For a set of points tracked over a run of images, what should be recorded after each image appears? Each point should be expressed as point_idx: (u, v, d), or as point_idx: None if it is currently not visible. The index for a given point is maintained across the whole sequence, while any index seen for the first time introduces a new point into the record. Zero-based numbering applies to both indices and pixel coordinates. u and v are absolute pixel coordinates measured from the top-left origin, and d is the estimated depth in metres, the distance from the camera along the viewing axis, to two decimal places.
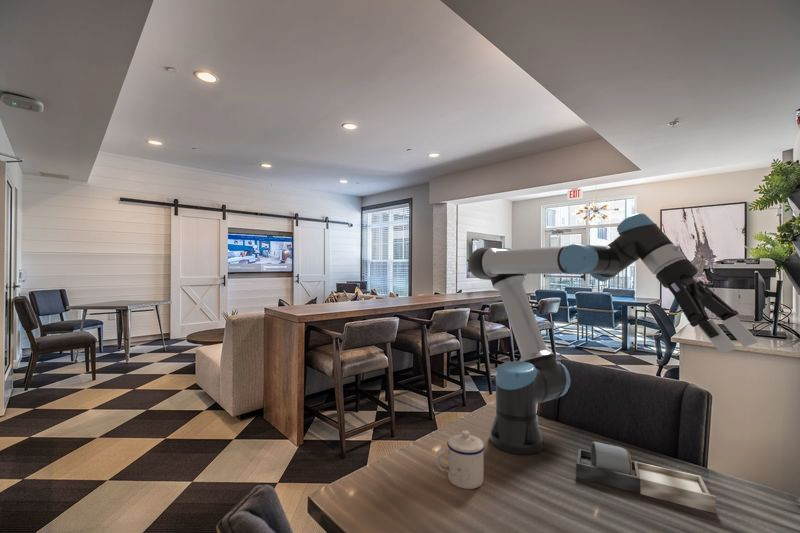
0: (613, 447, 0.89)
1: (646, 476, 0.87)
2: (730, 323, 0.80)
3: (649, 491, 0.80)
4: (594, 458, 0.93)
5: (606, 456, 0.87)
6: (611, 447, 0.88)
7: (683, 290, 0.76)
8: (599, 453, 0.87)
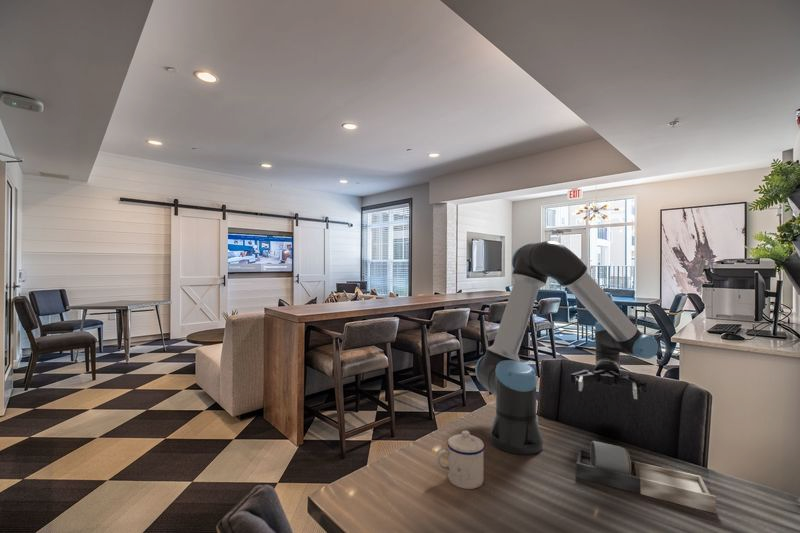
0: (612, 446, 0.89)
1: (646, 476, 0.87)
2: (582, 381, 1.07)
3: (649, 491, 0.80)
4: (594, 457, 0.93)
5: (605, 455, 0.87)
6: (610, 446, 0.89)
7: None
8: (598, 452, 0.88)
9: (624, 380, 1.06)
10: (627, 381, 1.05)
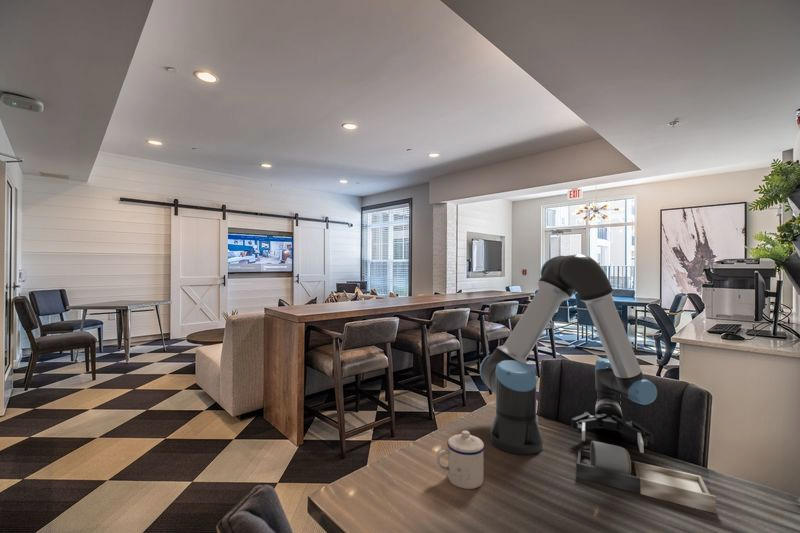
0: (612, 446, 0.89)
1: (646, 476, 0.87)
2: None
3: (649, 491, 0.80)
4: (593, 457, 0.93)
5: (605, 455, 0.87)
6: (610, 446, 0.89)
7: None
8: (598, 452, 0.88)
9: (628, 428, 1.01)
10: (631, 429, 1.00)
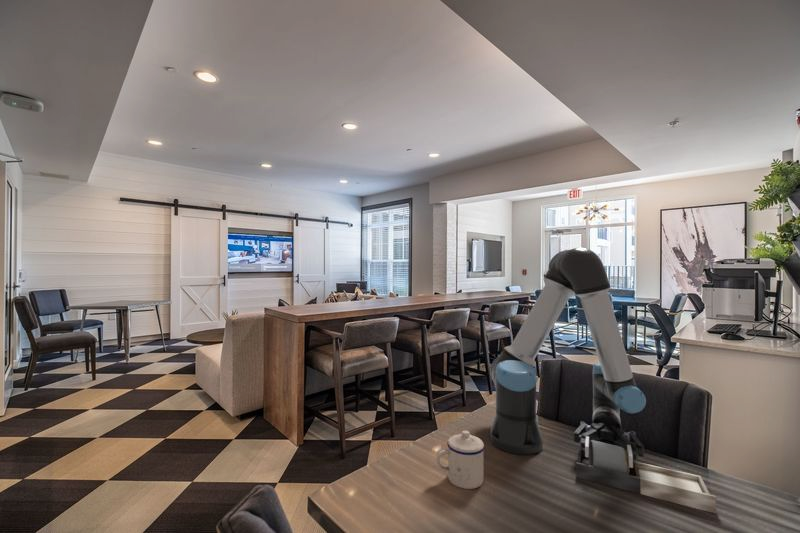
0: (611, 446, 0.89)
1: (646, 476, 0.87)
2: None
3: (649, 491, 0.80)
4: (592, 456, 0.93)
5: (603, 454, 0.87)
6: (609, 446, 0.89)
7: None
8: (596, 451, 0.88)
9: (621, 439, 0.94)
10: (623, 441, 0.93)
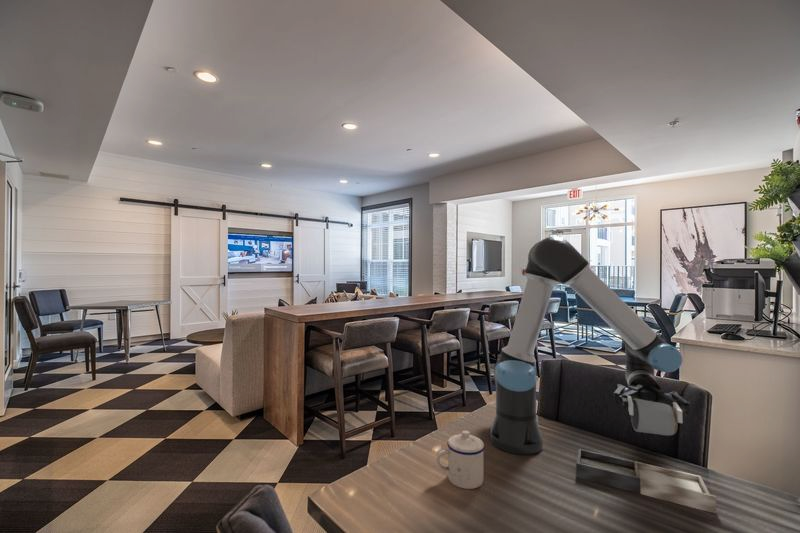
0: (656, 403, 0.85)
1: (646, 476, 0.87)
2: None
3: (649, 491, 0.80)
4: (634, 416, 0.89)
5: (649, 411, 0.83)
6: (654, 403, 0.85)
7: None
8: (642, 408, 0.84)
9: (664, 398, 0.90)
10: (667, 399, 0.89)
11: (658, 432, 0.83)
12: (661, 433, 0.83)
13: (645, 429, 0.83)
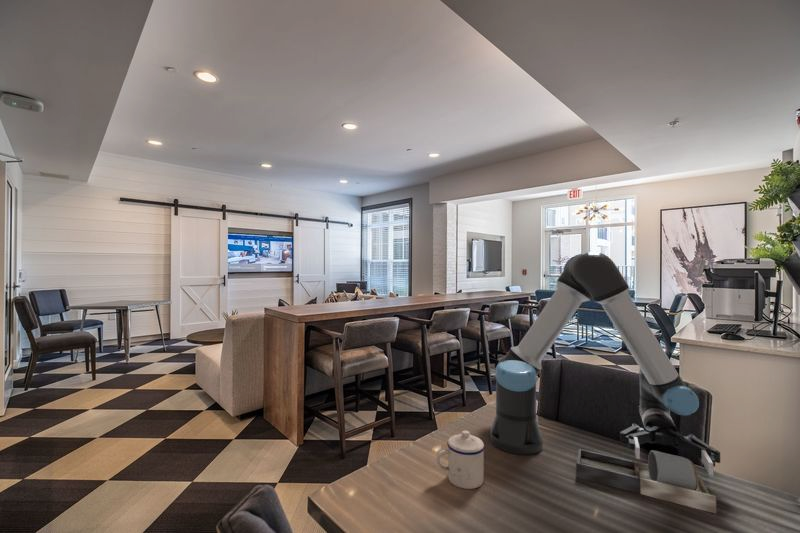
0: (676, 458, 0.82)
1: (646, 476, 0.87)
2: None
3: (649, 491, 0.80)
4: (652, 466, 0.87)
5: (669, 469, 0.80)
6: (674, 458, 0.82)
7: None
8: (661, 465, 0.81)
9: (688, 444, 0.87)
10: (692, 446, 0.86)
11: None
12: None
13: None
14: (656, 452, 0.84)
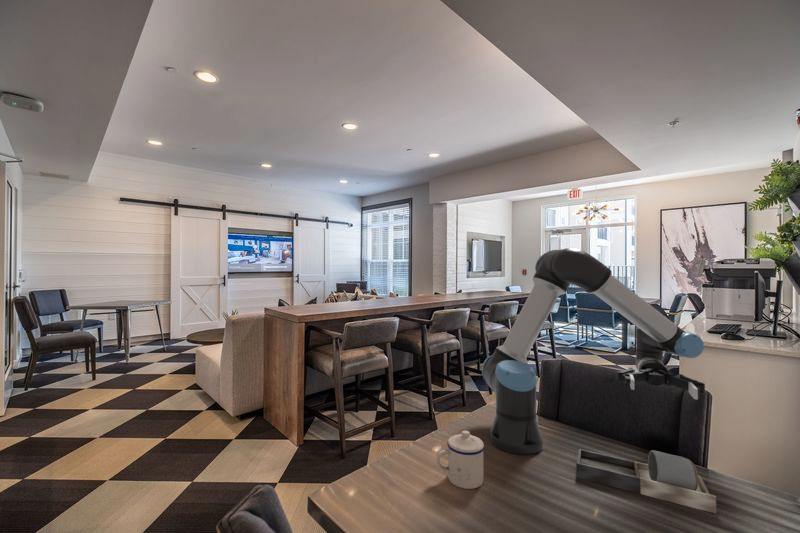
0: (676, 458, 0.82)
1: (646, 476, 0.87)
2: None
3: (649, 491, 0.80)
4: (652, 466, 0.87)
5: (669, 469, 0.80)
6: (674, 458, 0.82)
7: None
8: (661, 465, 0.81)
9: (677, 380, 1.00)
10: (681, 381, 0.99)
11: None
12: None
13: None
14: (656, 452, 0.84)
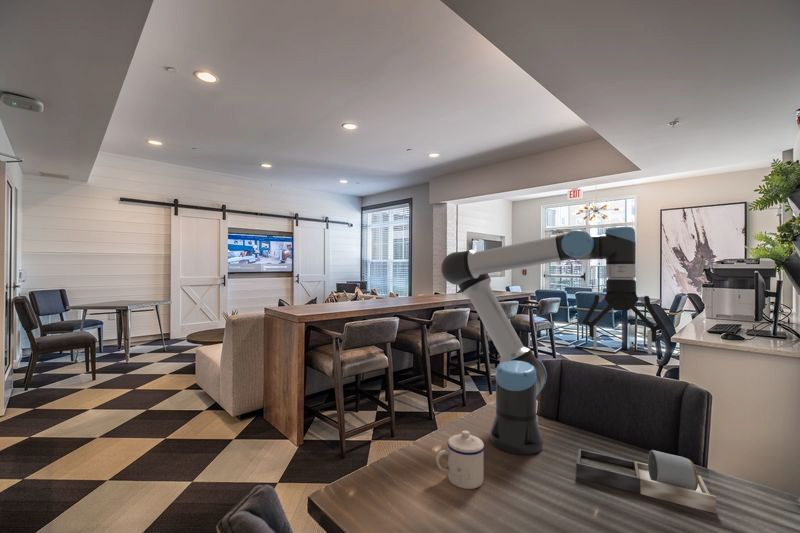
0: (676, 458, 0.82)
1: (646, 476, 0.87)
2: (647, 333, 1.00)
3: (649, 491, 0.80)
4: (652, 466, 0.87)
5: (669, 469, 0.80)
6: (674, 458, 0.82)
7: (593, 302, 1.06)
8: (661, 465, 0.81)
9: None
10: None
11: None
12: None
13: None
14: (656, 452, 0.84)
